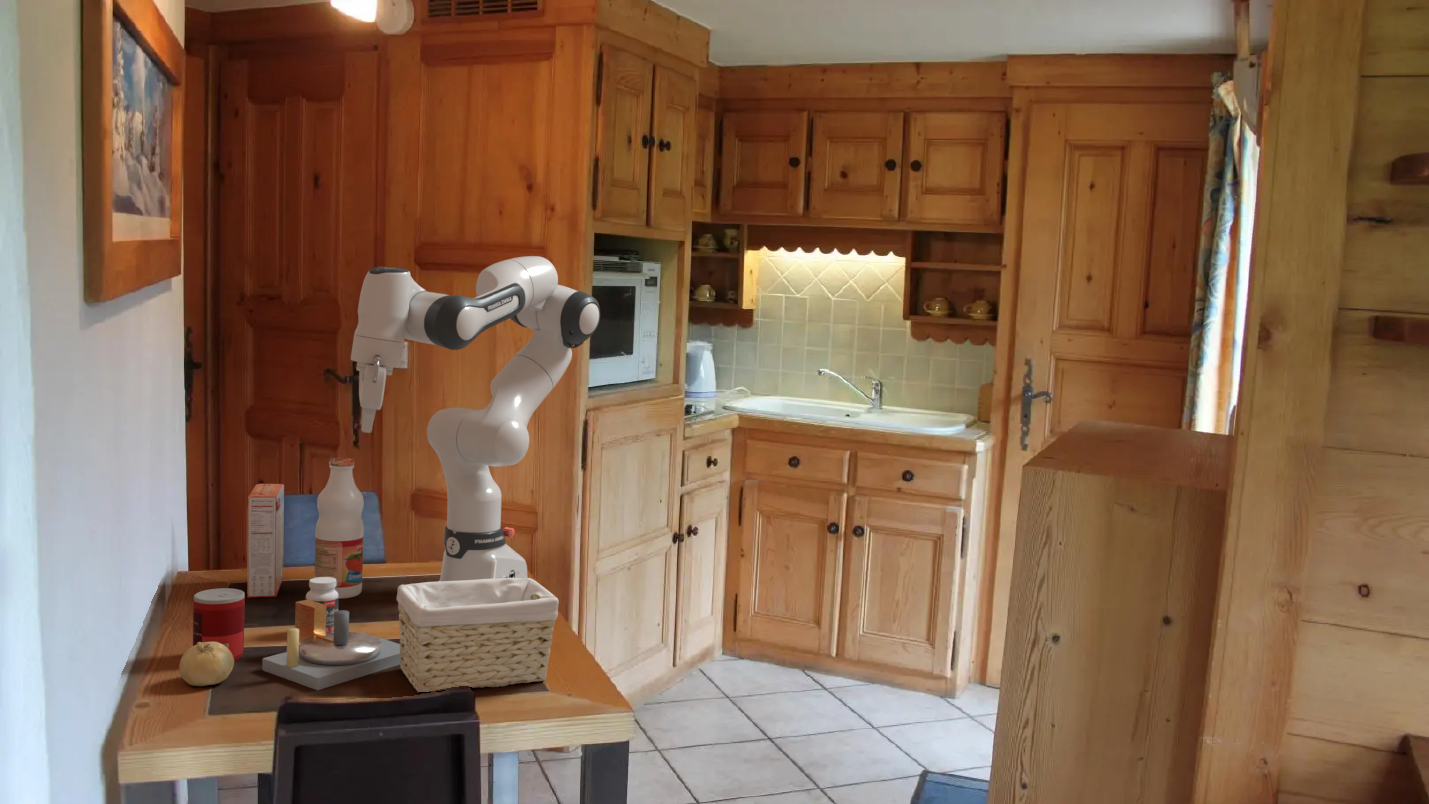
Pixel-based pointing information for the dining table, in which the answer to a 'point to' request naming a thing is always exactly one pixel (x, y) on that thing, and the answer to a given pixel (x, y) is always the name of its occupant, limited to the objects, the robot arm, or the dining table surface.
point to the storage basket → (475, 632)
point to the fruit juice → (340, 530)
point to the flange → (330, 639)
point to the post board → (328, 675)
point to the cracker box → (265, 540)
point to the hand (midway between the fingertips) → (365, 429)
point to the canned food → (220, 618)
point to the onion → (206, 664)
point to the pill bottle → (325, 597)
